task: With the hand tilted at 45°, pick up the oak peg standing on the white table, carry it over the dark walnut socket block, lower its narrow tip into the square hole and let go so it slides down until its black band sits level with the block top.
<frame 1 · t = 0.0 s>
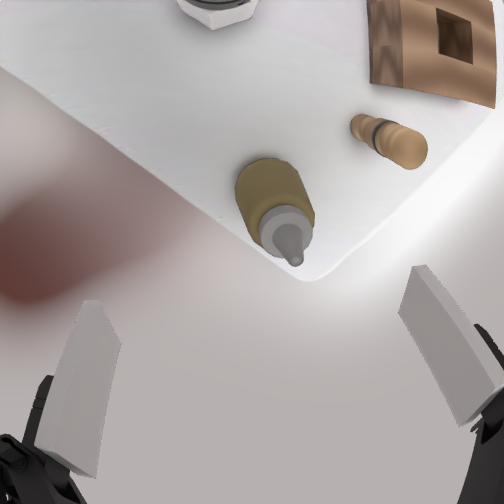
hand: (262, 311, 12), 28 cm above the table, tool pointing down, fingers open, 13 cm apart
squeeze bottle: (264, 180, 38), on the table
walnut socket block: (419, 37, 28), on the table
oak peg: (362, 126, 35), on the table
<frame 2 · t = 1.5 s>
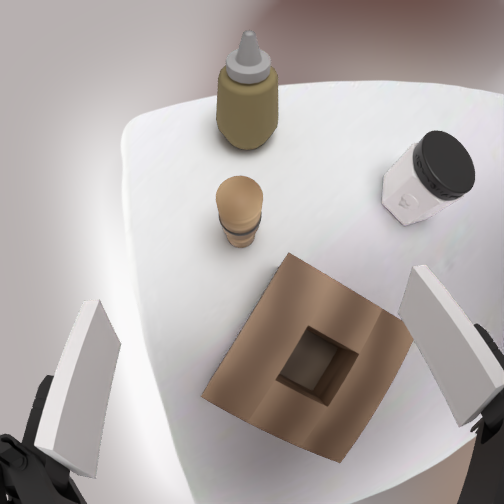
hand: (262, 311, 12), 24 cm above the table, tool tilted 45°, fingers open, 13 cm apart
squeeze bottle: (247, 134, 41), on the table
walnut socket block: (302, 357, 34), on the table
oak peg: (240, 234, 37), on the table
jar: (404, 198, 39), on the table
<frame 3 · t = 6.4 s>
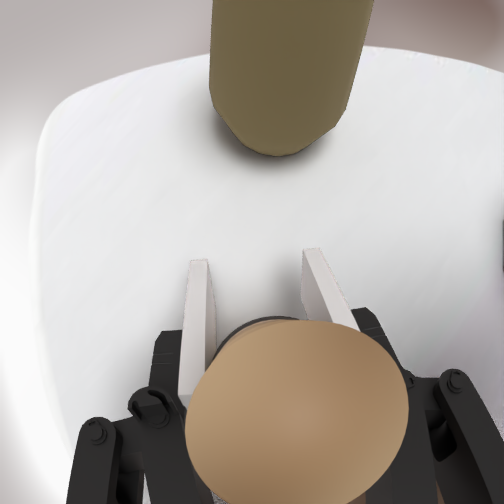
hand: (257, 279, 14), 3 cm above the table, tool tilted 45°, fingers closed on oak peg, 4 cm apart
squeeze bottle: (273, 123, 19), on the table
oak peg: (261, 354, 16), on the table, touching gripper
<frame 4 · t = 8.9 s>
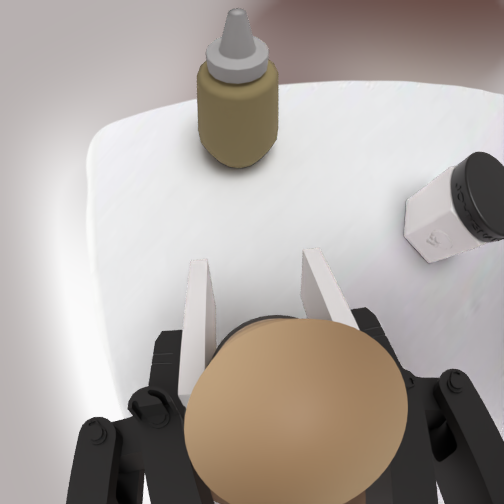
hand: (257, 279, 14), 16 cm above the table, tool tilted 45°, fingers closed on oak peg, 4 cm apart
squeeze bottle: (238, 147, 33), on the table
oak peg: (261, 353, 16), point 13 cm above the table, touching gripper
jar: (430, 227, 32), on the table
when the fingers open (10 cm above the table, at t = 11.3 s): oak peg drops 6 cm, resting on walnut socket block.
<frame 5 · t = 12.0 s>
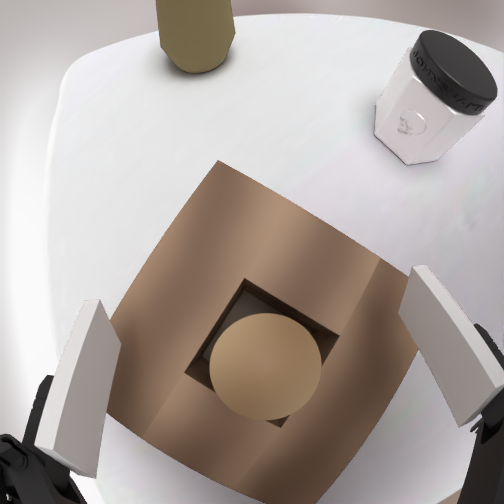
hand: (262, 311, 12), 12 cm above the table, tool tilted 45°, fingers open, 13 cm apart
squeeze bottle: (200, 59, 29), on the table
walnut socket block: (256, 343, 23), on the table
oak peg: (257, 345, 22), point 1 cm above the table, touching walnut socket block
jar: (405, 133, 28), on the table
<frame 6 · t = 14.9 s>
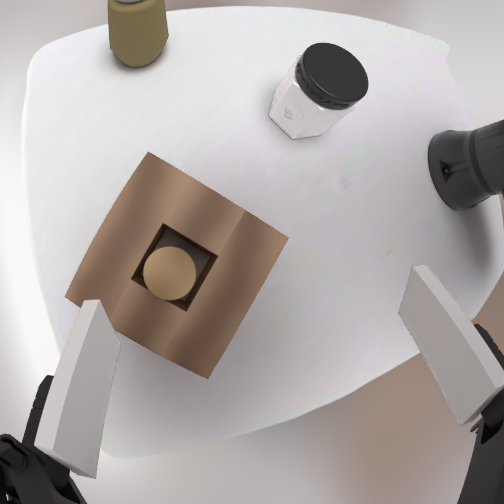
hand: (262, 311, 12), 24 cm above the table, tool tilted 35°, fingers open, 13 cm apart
squeeze bottle: (140, 53, 34), on the table
walnut socket block: (175, 264, 35), on the table
oak peg: (175, 265, 34), point 1 cm above the table, touching walnut socket block
jar: (297, 113, 39), on the table
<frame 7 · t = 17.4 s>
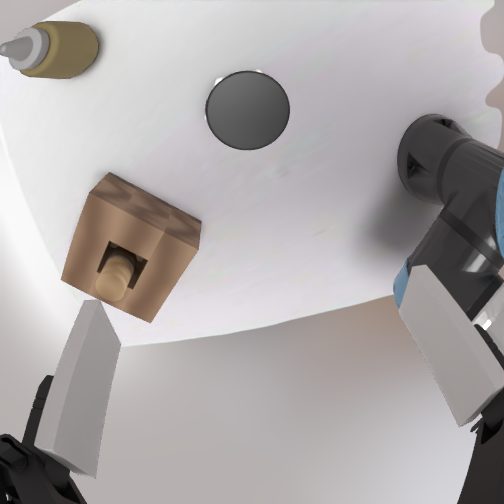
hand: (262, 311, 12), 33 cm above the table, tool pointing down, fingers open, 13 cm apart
squeeze bottle: (81, 51, 29), on the table
walnut socket block: (133, 237, 46), on the table
oak peg: (132, 240, 45), point 1 cm above the table, touching walnut socket block
jar: (240, 101, 37), on the table
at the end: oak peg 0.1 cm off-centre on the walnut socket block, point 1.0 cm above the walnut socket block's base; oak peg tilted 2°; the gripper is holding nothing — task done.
